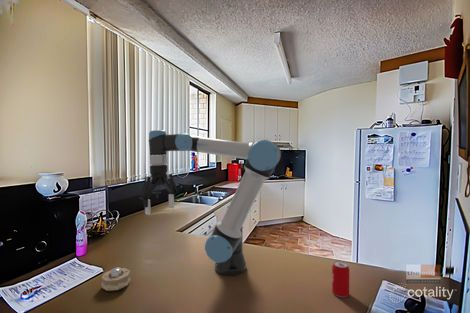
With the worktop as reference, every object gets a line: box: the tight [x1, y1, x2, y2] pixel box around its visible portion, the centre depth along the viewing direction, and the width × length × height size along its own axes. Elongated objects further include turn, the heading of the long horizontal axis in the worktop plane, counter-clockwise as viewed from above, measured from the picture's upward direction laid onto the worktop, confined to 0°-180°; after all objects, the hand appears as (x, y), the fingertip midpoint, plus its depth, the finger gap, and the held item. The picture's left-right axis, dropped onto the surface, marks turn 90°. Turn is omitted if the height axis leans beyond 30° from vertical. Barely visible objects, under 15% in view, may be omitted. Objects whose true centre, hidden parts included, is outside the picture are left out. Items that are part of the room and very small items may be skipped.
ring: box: [101, 267, 131, 292], centre depth 102 cm, size 10×10×4 cm
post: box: [109, 266, 125, 292], centre depth 102 cm, size 8×8×7 cm
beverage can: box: [331, 260, 350, 299], centre depth 96 cm, size 6×6×12 cm
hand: (160, 211), depth 112 cm, fingers open, 13 cm apart
